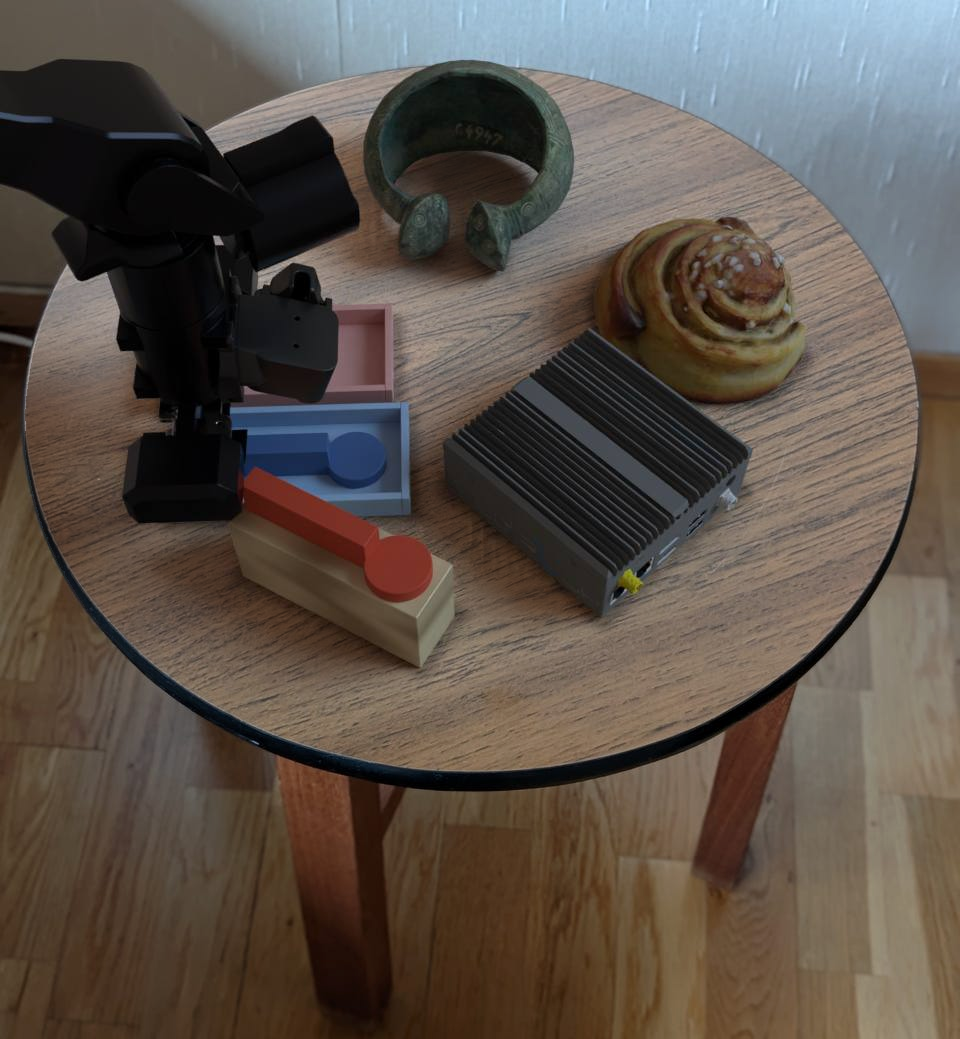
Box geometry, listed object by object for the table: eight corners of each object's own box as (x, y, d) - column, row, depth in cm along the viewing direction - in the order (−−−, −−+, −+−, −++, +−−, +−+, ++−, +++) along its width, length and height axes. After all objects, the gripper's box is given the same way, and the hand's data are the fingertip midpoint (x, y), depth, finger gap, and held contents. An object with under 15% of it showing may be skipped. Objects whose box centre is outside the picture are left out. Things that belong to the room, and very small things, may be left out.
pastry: (762, 430, 87) (786, 350, 80) (557, 345, 91) (563, 262, 84) (835, 297, 93) (862, 212, 87) (640, 222, 97) (652, 136, 90)
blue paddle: (386, 439, 86) (384, 415, 84) (386, 488, 84) (384, 464, 82) (204, 445, 86) (197, 421, 84) (199, 494, 84) (192, 471, 82)
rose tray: (165, 415, 88) (159, 397, 86) (175, 328, 92) (169, 309, 90) (394, 407, 88) (392, 389, 86) (393, 321, 92) (391, 303, 90)
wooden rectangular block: (455, 616, 79) (453, 564, 74) (420, 668, 78) (416, 619, 72) (279, 528, 83) (266, 472, 78) (242, 576, 81) (226, 522, 76)
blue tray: (169, 523, 83) (163, 506, 81) (179, 426, 87) (173, 409, 85) (410, 515, 83) (409, 498, 82) (409, 419, 87) (408, 401, 86)
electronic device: (613, 631, 79) (621, 588, 75) (437, 480, 85) (435, 433, 80) (753, 503, 84) (768, 456, 80) (577, 369, 90) (582, 318, 85)
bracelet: (349, 275, 94) (337, 166, 86) (381, 131, 103) (373, 19, 94) (561, 292, 93) (570, 184, 85) (577, 146, 102) (585, 34, 93)
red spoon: (445, 562, 74) (444, 538, 72) (410, 613, 73) (408, 591, 71) (272, 476, 78) (266, 451, 76) (234, 524, 76) (227, 499, 74)
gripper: (317, 426, 66) (344, 585, 79) (326, 165, 76) (348, 344, 89) (91, 433, 66) (155, 591, 79) (130, 170, 76) (181, 349, 89)
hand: (218, 461), depth 84 cm, fingers open, 4 cm apart
